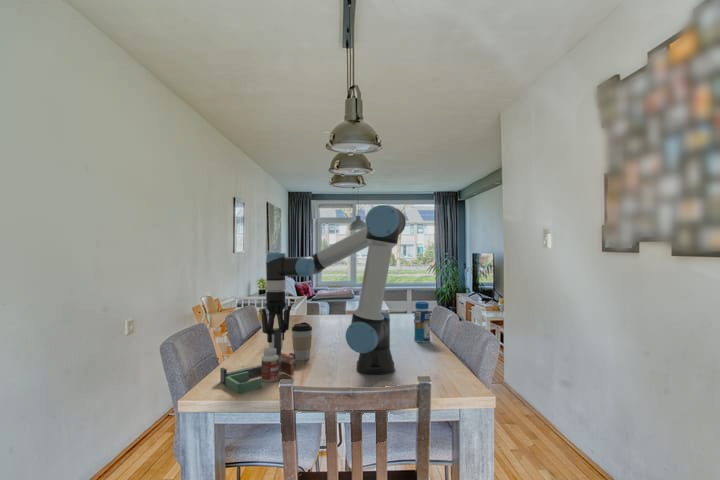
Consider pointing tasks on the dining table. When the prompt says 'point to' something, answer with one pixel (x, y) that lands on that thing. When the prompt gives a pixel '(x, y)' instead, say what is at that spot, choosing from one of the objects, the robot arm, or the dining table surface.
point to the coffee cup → (302, 340)
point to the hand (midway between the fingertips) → (275, 349)
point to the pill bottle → (270, 365)
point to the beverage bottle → (422, 322)
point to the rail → (252, 371)
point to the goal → (238, 387)
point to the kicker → (283, 354)
